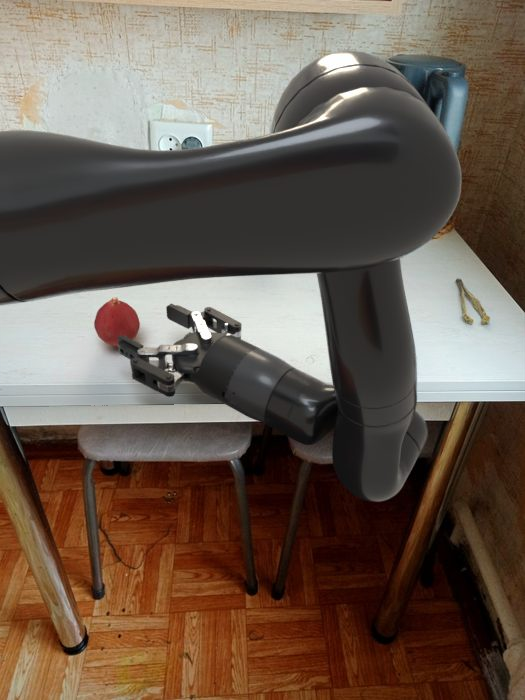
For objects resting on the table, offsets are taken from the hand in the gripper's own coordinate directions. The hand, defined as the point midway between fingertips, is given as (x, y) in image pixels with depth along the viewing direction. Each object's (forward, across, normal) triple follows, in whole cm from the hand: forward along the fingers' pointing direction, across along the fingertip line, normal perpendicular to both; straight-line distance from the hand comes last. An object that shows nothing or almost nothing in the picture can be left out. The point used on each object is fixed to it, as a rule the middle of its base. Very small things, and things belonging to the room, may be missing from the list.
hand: (145, 325), depth 64 cm
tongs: (-30, -42, +6) cm, 52 cm away
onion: (+5, 0, +6) cm, 8 cm away
